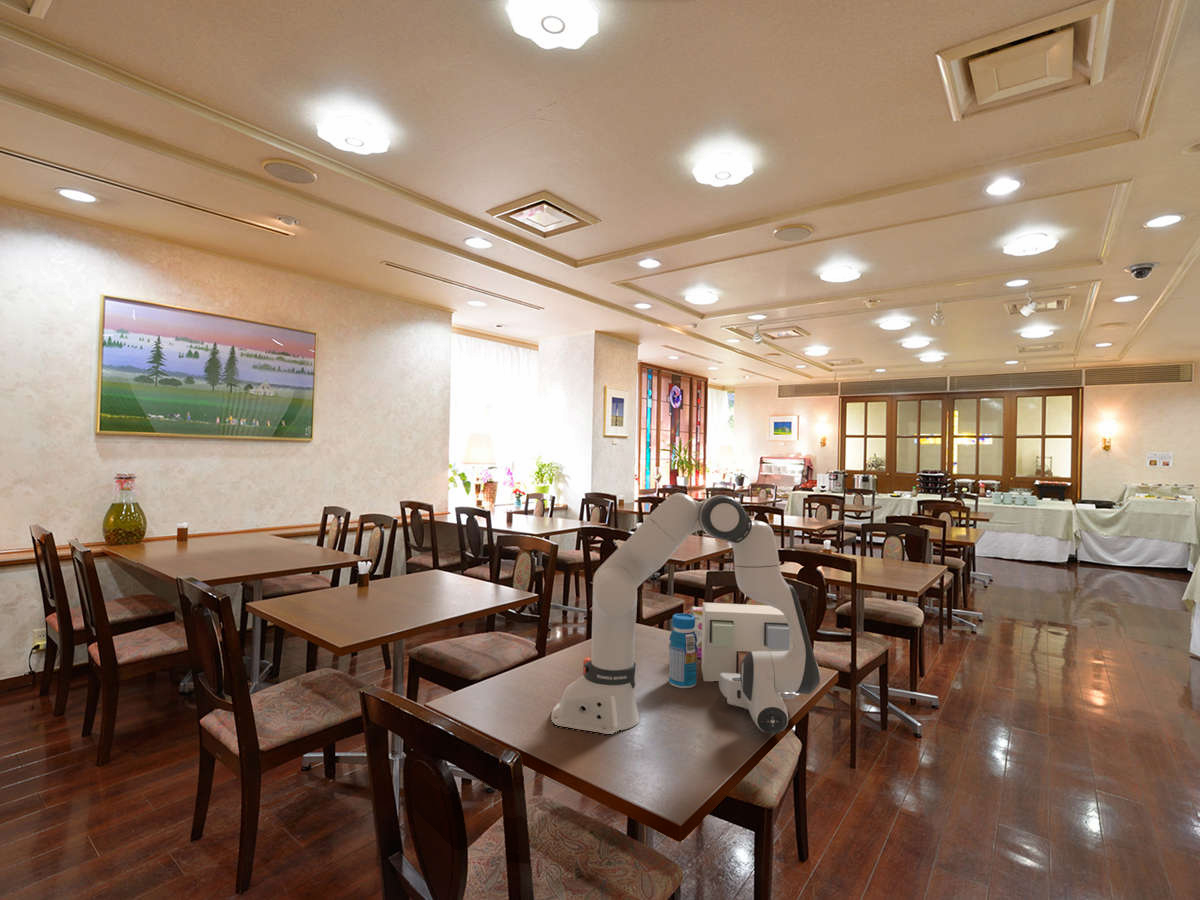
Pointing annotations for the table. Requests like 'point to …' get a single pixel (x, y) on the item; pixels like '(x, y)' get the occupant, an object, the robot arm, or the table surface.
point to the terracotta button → (740, 659)
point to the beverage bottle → (683, 652)
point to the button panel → (735, 635)
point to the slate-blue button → (777, 636)
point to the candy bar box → (698, 628)
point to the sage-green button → (722, 633)
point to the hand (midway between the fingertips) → (752, 674)
